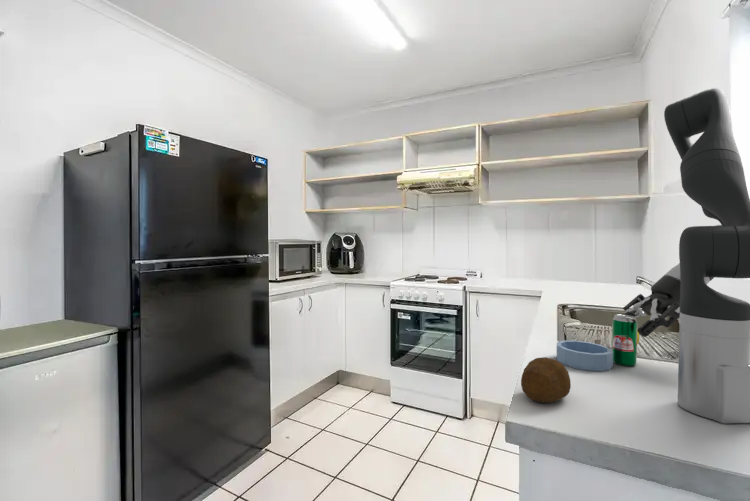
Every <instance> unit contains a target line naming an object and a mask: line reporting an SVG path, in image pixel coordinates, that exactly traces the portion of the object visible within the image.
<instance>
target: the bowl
mask: <svg viewBox="0 0 750 501" xmlns="http://www.w3.org/2000/svg"><path fill="white" fill-rule="evenodd" d="M555 355H556V360H557V361H558V362H560V363H561V364H563V365H564V366H566V367H568V366H569V367H570V368H572V369H577V370H581V371H588V372H609V371H611V370H612V369H613V366H614V362H613V351H612V348H610V347H608V346H605V345H602V344H598V343H594V342H589V341H583V340H561V341H556V354H555Z"/></svg>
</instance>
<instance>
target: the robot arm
mask: <svg viewBox="0 0 750 501" xmlns="http://www.w3.org/2000/svg"><path fill="white" fill-rule="evenodd" d="M663 117H664V122H665V125H666V126H665V127H666V129H667V132H668V133H669V136H670V138H671V141H672V143H673V145H674V146H675V149H676V151H677V154H678V155H679V157H680V159H681V162H680V165H679V166H680V167H679V170H680V171H679V172H680V173H679V174H680V180H681V188H682V190H683V191H684V193H685V194H686V195H687V196H688V198H689V199H691V200H692V201H693V202H695V203H696V204H697V205H699V206H700V207H701V209H702V213H703V215H704V216H706V217H707V218H709V219H714V220H716V221H718V222H719V223H720V224H716V225H699V226H698V225H697V226H696V225H695V226H687V227H686V228H684V229H683V230H682V232H681V233H680V237H679V242H678V243H679V245H678V257H679V258H678V259H679V262H678V264H677V265H675V266H673V267H671V268H670V270H668V271H667V272H666V273H665V274H664V275H663V276H661V278H659V279H658V280H657V281H656V282H655V283H654V284H653V285H651V287H650V291H651V294H649V295H648V296H644V295H643V294H642V293H639V294H638V295H637V296H635V297H634V298H633V299H631V300H630V301H629V303H627V304H625V305H624V306H623V308H622V309H623V310H624V312H625V313H624V314H623V315H629V316H634V317H635V319H636V318H639V317H647V316H650V318H649V319H647V321H645V322H644V323H643V324H642V325H641V326H639V328H637V331H638V333H639V336H640V335H641V337H644V338H647V337H648V336H649V335H650V334H651V333H653V331H655V330H656V329H657V328H661V327H665V328H669V327H671V326H672V324H674V323H675V322H676V321H677V320H679V319H680V322H679V321H678V323H679V325H678V326H679V327H678V330H679V331H678V361H677V362H678V364H677V366H678V368H677V369H678V370H677V371H678V372H677V374H678V375H677V404H678V405H679V407H681V408H682V409H684V410H685V411H687V412H689V413H692V414H694V415H697V416H700V417H703V418H706V419H710V420H713V421H716V422H719V423H720V424H750V303H749V302H747V301H746V300H743V299H739V298H737V297H733V296H730V295H727V294H724V293H721V292H720V291H717V290H715V289H713V288H711V287H710V286H709V285H708V284H709V283H710V282H711V281H712V280H713V279H715V278H720V279H721V278H722V279H750V196H749V193H748V192H749V191H748V188H747V187H748V186H747V183H746V176H745V170H744V166H743V162H742V158H741V155H740V152H739V149H738V147H737V142H736V140H735V137H734V131H733V124H732V114H731V108H730V101H729V99H728V96H727V94H726V93H725V92H724V91H723V90H722V89H721V88H718V87H711V88H707V89H703V90H701V91H699V92H696V93H693V94H691V95H688V96H687V97H683V98H681V99H679V100H677V101H675V102H672V103H669V104H668V105H666V106H665V109H664V113H663ZM701 133H702V134H701ZM699 134H701V135H700V136H699V137H698V138H697V139H696V141H694V142H692V140H691V138H692V137H694V136H697V135H699ZM667 317H669V319H668V320H667Z"/></svg>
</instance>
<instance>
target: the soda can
mask: <svg viewBox="0 0 750 501" xmlns="http://www.w3.org/2000/svg"><path fill="white" fill-rule="evenodd" d="M611 325H612V332H611V334H612V335H611V336H612V337H611V342H612V344H611V350H612V351H613V364H615V365H618V366H623V367H634V366H635V365H637V361H638V360H637V357H638V356H637V354H638V344H637V330H638V321H637V319H636V318H635V317H634V316H629V315H624V314H614V317H613V318H612V324H611Z"/></svg>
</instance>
